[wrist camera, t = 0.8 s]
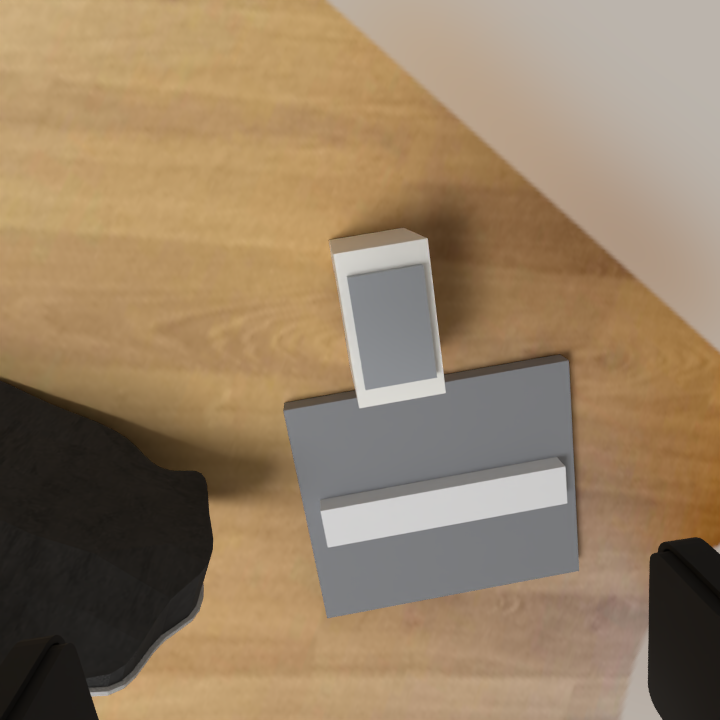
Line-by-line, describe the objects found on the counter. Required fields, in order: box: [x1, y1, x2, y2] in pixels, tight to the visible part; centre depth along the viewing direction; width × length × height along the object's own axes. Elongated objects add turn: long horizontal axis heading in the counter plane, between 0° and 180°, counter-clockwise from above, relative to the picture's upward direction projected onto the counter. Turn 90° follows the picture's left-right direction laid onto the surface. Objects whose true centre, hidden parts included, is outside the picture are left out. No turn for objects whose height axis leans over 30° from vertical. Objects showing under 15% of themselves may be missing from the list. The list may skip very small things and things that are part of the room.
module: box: [329, 228, 446, 408], centre depth 28 cm, size 7×4×7 cm, turn 9°
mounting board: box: [283, 354, 579, 618], centre depth 34 cm, size 14×16×2 cm
